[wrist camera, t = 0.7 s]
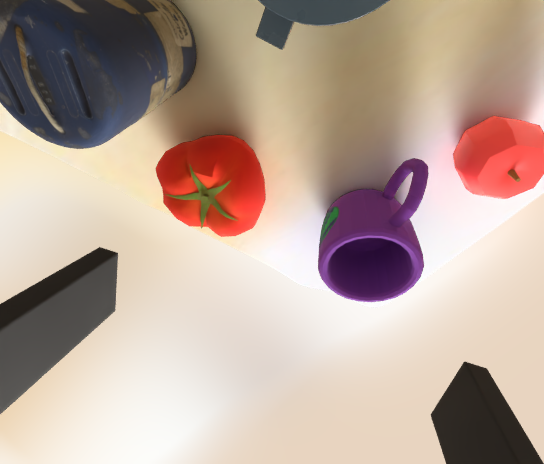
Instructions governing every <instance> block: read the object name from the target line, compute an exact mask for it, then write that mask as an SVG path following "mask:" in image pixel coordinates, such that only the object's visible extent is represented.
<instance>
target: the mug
mask: <svg viewBox="0 0 544 464" xmlns="http://www.w3.org/2000/svg"><path fill="white" fill-rule="evenodd" d="M411 172H413V177H412V182H411V186H410V190H409V193H408V195H407V198H406V200H405V202H404V203H403V205H401V204H400V203H399V202H398V201H397V200H396V199H395V198H394V196H395V194H396V192H397V190H398V188H399V187H400V185H401V183H402V182H403V181H404V179H405V178H406V177H407V176H408V175H409V174H410V173H411ZM427 179H428V166H427V165H426V164H425V163H424V162H423V161H422V160H419V159H415V158H413V159H410V160H406V161H404V162H403V163H402V164H401V165H400V166H399V167H398V168H397V170H396V171H395V173H394V174H393V175H392V177H391V178H390V180H389V182H388V183H387V185H386V187H385V189H384V191H383V192H382V191H378V190H374V189H361V190H356V191H352V192H349V193H347V194H345V195H343V196H341V197H340V198H339V199H338V200H336V201H335V202H334V203H333V204H332V205H331V207H330V208H329V209H328V211H327V214H326V217H325V219H324V222H323V225H322V230H321V237H320V244H319V258H318V270H319V273H320V276H321V278H322V280H323V281H324V282H325V284H326V285H327V286H328V287H329V288H330V289H331V290H332V291H334V292H335V293H336V294H338V295H340V296H343V297H345V298H347V299H351V300H355V301H363V302H376V301H384V300H388V299H392V298H395V297H397V296H399V295H401V294H403V293H405V292H407V291H408V290H409V289H410V288H412V287H413V286H414V285H415V283H416V282H417V281H418V279H419V278H420V276H421V274H422V271H423V267H424V262H423V254H422V251H421V248H420V244H419V241H418V238H417V236H416V233H415V231H414V228H413V226H412V223H411V221H410V219H409V218H410V217H411V216H412V215H413V214H414V212H415V211H416V210H417V208H418V206H419V204H420V202H421V200H422V198H423V195H424V191H425V188H426V184H427Z"/></svg>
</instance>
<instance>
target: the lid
mask: <svg viewBox="0 0 544 464" xmlns="http://www.w3.org/2000/svg"><path fill="white" fill-rule="evenodd" d="M258 1H260V2H261V3H262V4H263V5H264V6H265V7H267V8H268V9H270V10H271V11H273V12H274V13H276V14H277V15H280V16H282V17H284V18H286V19H288V20H290V21H294V22H298V23H301V24H306V25H314V26H328V25H336V24H341V23H346V22H349V21H352V20H355V19H358V18H361V17H363V16H365V15H367V14H369V13H371V12H373V11H375V10H376V9H378V8H379V7H381V6H382V5H384V4H385V3H387V2H388V1H390V0H258Z"/></svg>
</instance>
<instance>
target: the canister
mask: <svg viewBox="0 0 544 464" xmlns="http://www.w3.org/2000/svg"><path fill="white" fill-rule="evenodd" d="M195 64H196V45H195V40H194V36H193V33H192V30H191V28H190V26H189V24H188V22H187V20H186V18H185V17H184V15H183V14H182V13H181V11H180V10H179V9H178V8H177V7H176V6H175V5H174V4H173V3H172V2H171V1H170V0H0V102H1V104H2V105H3V106H4V107H5V108H6V109H7V111H8V112H9V113H10V114H11V115H12V116H13V117H14V118H15V119H16V120H17V121H19V122H20V123H21V124H22V125H23V126H24V127H26V128H27V129H29V130H30V131H31V132H33V133H34V134H36V135H38V136H39V137H41V138H43V139H45V140H46V141H49V142H51V143H54V144H57V145H60V146H64V147H68V148H76V149H84V148H91V147H95V146H99V145H101V144H103V143H105V142H107V141H108V140H110V139H111V138H113V137H114V136H116V135H117V134H119V133H120V132H122V131H123V130H125V129H126V128H127V127H129V126H130V125H132V124H133V123H135V122H137V121H138V120H139V119H141V118H142V117H144V116H145V115H147V114H148V113H150V112H151V111H152V110H154V109H155V108H156V107H157V106H158V105H159V104H161V103H162V102H164V101H165V100H167V99H168V98H169V97H171V96H172V95H174V94H175V93H177V92H178V91H179V90H181V89H182V88H183V87H184V86H185V85H186V84H187V83H188V81H189V80H190V78H191V76H192V74H193V72H194V68H195Z"/></svg>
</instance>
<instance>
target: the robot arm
mask: <svg viewBox="0 0 544 464" xmlns="http://www.w3.org/2000/svg"><path fill="white" fill-rule="evenodd" d="M117 260H118V253H116V252H113V251H110V250H107V249H103V248H100V247H99V248H98V249H96V250H94V251H92V252H91V253H89V254H87V255H85V256H84V257H82V258H80V259H79V260H77V261H75V262H73V263H71V264H70V265H68V266H66V267H65V268H63V269H61V270H59V271H57V272H56V273H54V274H52V275H50V276H49V277H47V278H45V279H43V280H42V281H40V282H38V283H36V284H35V285H33V286H31V287H29V288H28V289H26V290H24V291H22V292H21V293H19V294H17V295H15V296H14V297H12V298H10V299H8V300H7V301H5V302H3V303H1V304H0V414H1V413H2V412H3V411H4V410H6V409H7V408H8V407H9V406H10V405H11V404H12V403H13V402H15V401H16V400H17V399H18V398H19V397H20V396H21V395H22V394H23V393H24V392H26V391H27V390H28V389H29V388H30V387H31V386H32V385H33V384H34V383H36V382H37V381H38V380H39V379H40V378H41V377H42V376H43V375H44V374H45V373H47V372H48V371H49V370H50V369H51V368H52V367H53V366H54V365H56V364H57V363H58V362H59V361H60V360H61V359H62V358H63V357H64V356H66V355H67V354H68V353H69V352H70V351H71V350H72V349H73V348H74V347H75V346H76V345H78V344H79V343H80V342H81V341H82V340H83V339H84V338H85V337H87V336H88V334H90V333H91V332H92V331H93V330H94V329H95V328H97V327H98V326H99V325H100V324H101V323H102V322H103V321H104V320H105V319H107V318H108V317H109V316H110V315H111V314H112V313H113V312H114V311H115V304H116V283H117V282H116V281H117V280H116V279H117ZM431 417H432V421H433V424H434V427H435V430H436V433H437V436H438V439H439V442H440V445H441V448H442V452H443V455H444V458H445V461H446V464H544V463H543V462H542V460H541V459H540V457H539V455H538V453H537V452H536V450H535V448H534V447H533V445H532V443H531V442H530V440H529V438H528V437H527V435H526V433H525V432H524V430H523V428H522V427H521V425H520V423H519V422H518V420H517V418H516V417H515V415H514V413H513V412H512V410H511V408H510V407H509V405H508V403H507V402H506V400H505V398H504V397H503V395H502V393H501V392H500V390H499V388H498V387H497V385H496V383H495V382H494V380H493V378H492V377H491V375H490V373H489V371H488V370H487V369H486V368H483V367H480V366H477V365H474V364H471V363H467V362H464V363H463V365H462V366H461V368H460V369H459V371H458V372H457V374H456V376H455V377H454V379H453V380H452V382H451V383H450V385H449V387H448V388H447V390H446V391H445V393H444V395H443V396H442V398H441V399H440V401H439V403H438V404H437V406H436V407H435V409H434V411H433V412H432V414H431Z"/></svg>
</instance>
